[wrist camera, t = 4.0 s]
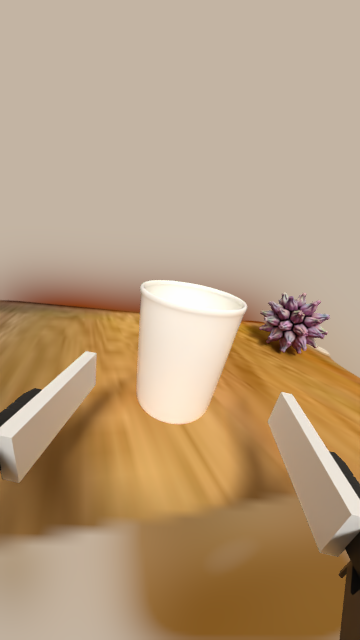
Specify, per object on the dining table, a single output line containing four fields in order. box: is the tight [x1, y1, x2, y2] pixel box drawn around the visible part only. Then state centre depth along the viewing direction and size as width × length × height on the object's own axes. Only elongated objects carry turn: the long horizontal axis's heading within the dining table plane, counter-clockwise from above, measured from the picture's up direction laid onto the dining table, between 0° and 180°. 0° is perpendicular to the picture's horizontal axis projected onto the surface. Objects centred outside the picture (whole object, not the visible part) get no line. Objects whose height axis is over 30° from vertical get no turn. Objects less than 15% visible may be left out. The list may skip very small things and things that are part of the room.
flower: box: [259, 293, 330, 353], centre depth 38 cm, size 12×12×12 cm
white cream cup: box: [136, 280, 247, 424], centre depth 20 cm, size 10×10×12 cm
